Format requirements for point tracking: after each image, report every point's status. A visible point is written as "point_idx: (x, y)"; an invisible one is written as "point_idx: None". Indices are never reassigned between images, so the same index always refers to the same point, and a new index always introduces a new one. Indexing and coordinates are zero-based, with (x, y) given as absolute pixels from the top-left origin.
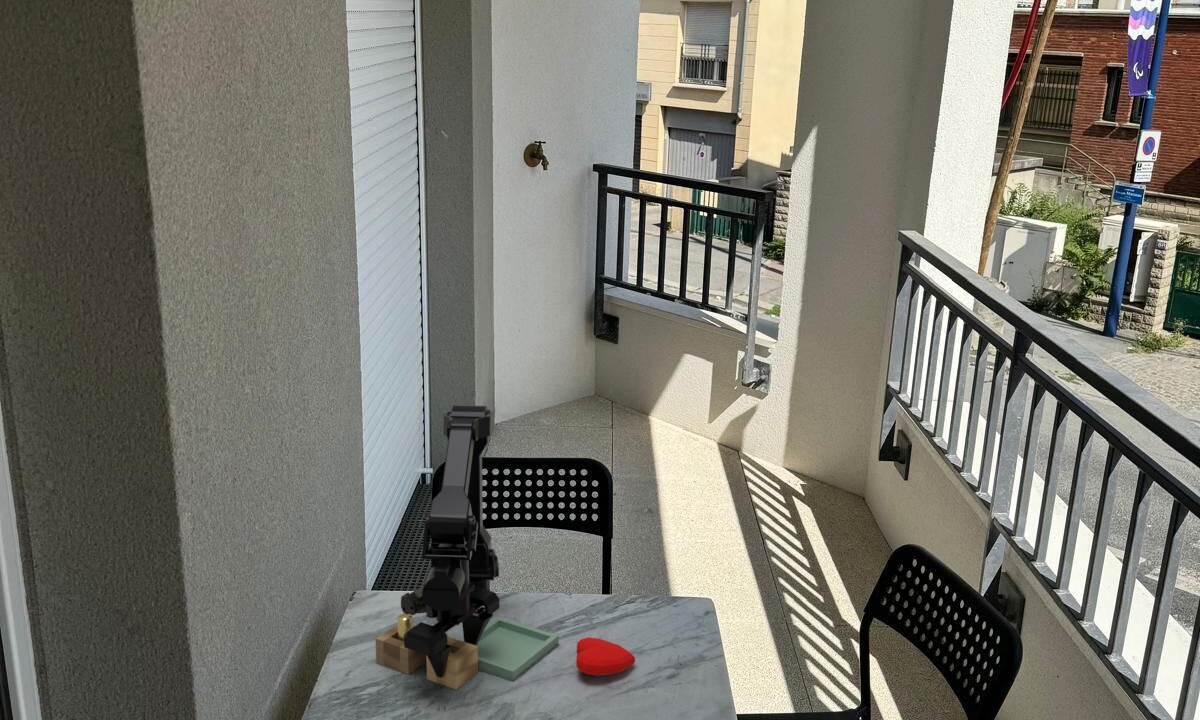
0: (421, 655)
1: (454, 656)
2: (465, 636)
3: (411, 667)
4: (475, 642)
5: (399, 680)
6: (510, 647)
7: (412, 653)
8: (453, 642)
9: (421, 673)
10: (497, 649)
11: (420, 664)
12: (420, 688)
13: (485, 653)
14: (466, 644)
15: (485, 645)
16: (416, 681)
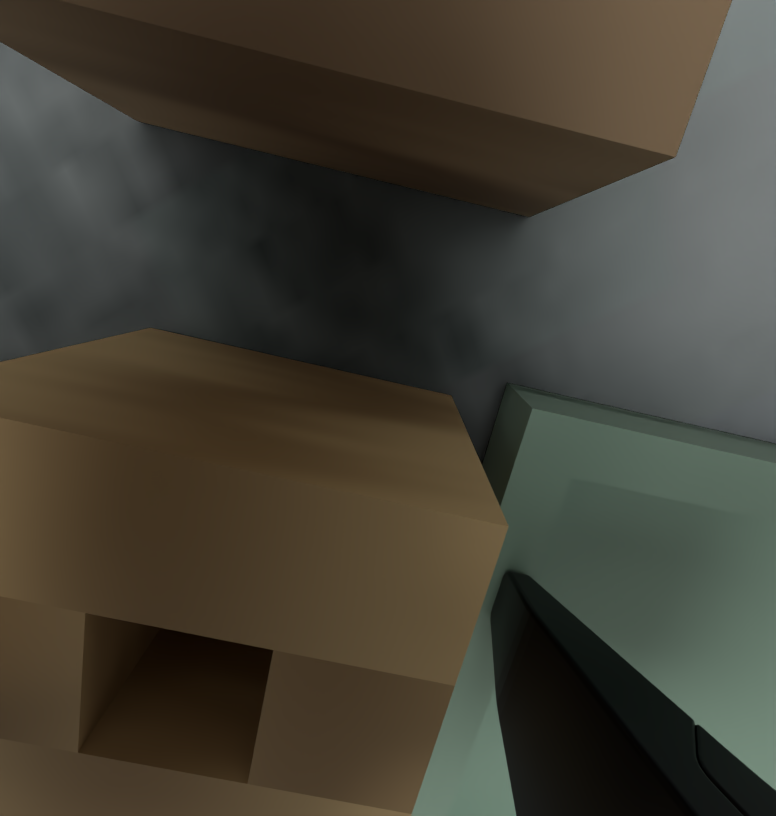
0: (318, 140)
1: (16, 792)
2: (585, 727)
3: (158, 115)
4: (517, 809)
5: (14, 82)
6: (756, 740)
7: (81, 49)
8: (355, 653)
9: (212, 235)
10: (714, 674)
11: (313, 160)
12: (10, 337)
13: (636, 621)
14: (365, 813)
15: (763, 580)
16: (81, 254)
